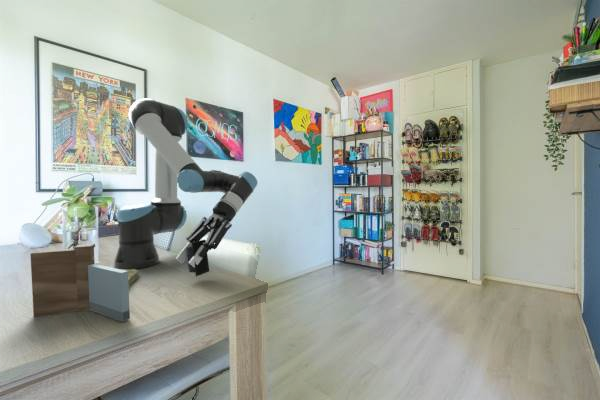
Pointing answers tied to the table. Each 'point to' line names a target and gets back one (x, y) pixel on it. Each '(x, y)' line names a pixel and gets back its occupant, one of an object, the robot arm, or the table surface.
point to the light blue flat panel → (109, 291)
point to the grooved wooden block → (61, 280)
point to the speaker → (203, 264)
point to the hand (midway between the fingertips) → (185, 263)
